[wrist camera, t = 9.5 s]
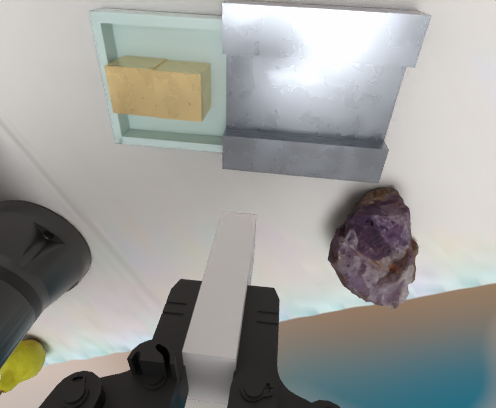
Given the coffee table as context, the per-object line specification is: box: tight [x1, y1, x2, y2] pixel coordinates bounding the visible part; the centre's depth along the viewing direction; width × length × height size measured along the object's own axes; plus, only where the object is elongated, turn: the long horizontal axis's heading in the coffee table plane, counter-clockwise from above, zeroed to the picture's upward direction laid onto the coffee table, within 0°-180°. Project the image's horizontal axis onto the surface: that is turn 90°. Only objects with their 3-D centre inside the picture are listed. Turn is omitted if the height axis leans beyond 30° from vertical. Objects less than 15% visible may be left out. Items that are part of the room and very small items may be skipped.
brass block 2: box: [152, 60, 211, 122], centre depth 30 cm, size 4×4×4 cm
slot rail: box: [222, 0, 431, 183], centre depth 30 cm, size 15×14×4 cm
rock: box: [328, 188, 418, 309], centre depth 36 cm, size 12×9×10 cm
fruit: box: [0, 339, 46, 395], centre depth 59 cm, size 7×7×12 cm
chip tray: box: [89, 8, 226, 153], centre depth 31 cm, size 11×12×2 cm
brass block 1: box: [104, 55, 167, 117], centre depth 30 cm, size 4×4×4 cm
